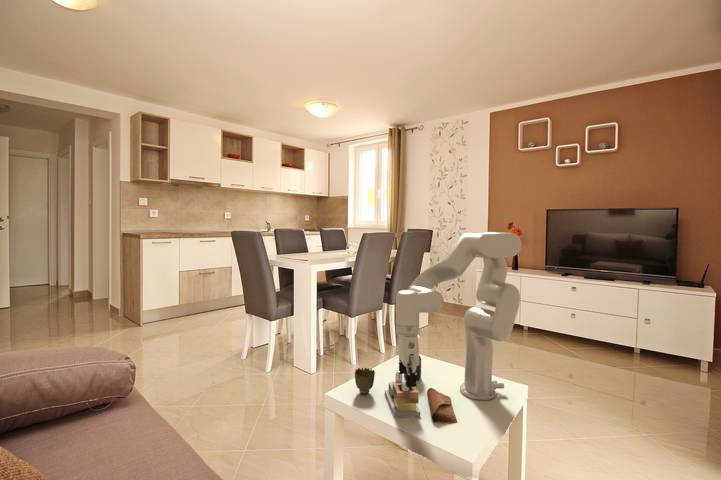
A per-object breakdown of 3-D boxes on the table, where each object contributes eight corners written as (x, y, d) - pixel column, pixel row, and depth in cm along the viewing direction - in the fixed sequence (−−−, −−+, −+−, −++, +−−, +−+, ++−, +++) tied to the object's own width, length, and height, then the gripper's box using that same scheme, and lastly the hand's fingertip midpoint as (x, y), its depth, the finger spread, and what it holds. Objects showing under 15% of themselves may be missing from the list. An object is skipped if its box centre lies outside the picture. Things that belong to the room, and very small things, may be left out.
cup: (372, 399, 126) (373, 376, 125) (352, 396, 127) (352, 374, 127) (375, 389, 133) (376, 368, 133) (356, 387, 134) (357, 366, 134)
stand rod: (404, 390, 130) (405, 367, 129) (408, 398, 124) (409, 374, 123) (388, 390, 129) (389, 368, 129) (391, 398, 123) (392, 375, 123)
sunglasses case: (459, 423, 111) (449, 405, 111) (439, 433, 111) (429, 415, 112) (450, 396, 129) (441, 380, 129) (432, 405, 129) (423, 389, 129)
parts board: (407, 393, 130) (407, 389, 130) (420, 416, 115) (420, 412, 115) (384, 394, 129) (384, 390, 129) (394, 417, 114) (394, 413, 113)
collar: (412, 392, 121) (412, 382, 121) (418, 403, 114) (418, 392, 114) (392, 393, 120) (392, 383, 120) (397, 403, 113) (397, 393, 113)
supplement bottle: (408, 373, 148) (409, 344, 148) (423, 377, 144) (424, 348, 144) (400, 378, 143) (401, 349, 142) (415, 383, 139) (416, 353, 138)
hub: (411, 402, 121) (411, 378, 120) (416, 411, 115) (416, 386, 115) (393, 402, 120) (394, 379, 120) (398, 412, 114) (398, 387, 114)
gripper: (426, 336, 108) (426, 391, 109) (411, 320, 125) (411, 368, 126) (402, 337, 107) (402, 393, 108) (390, 321, 125) (390, 369, 125)
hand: (407, 379), depth 117 cm, fingers open, 9 cm apart
